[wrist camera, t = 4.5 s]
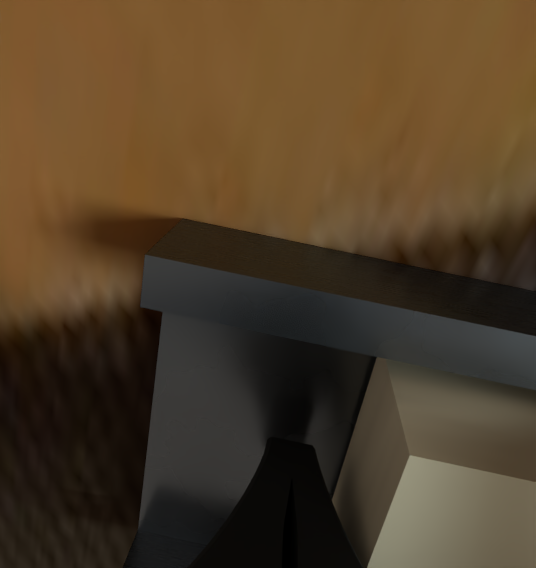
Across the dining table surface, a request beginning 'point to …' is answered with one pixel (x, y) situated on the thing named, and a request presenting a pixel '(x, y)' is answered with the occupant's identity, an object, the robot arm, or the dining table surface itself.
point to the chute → (290, 362)
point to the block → (440, 472)
